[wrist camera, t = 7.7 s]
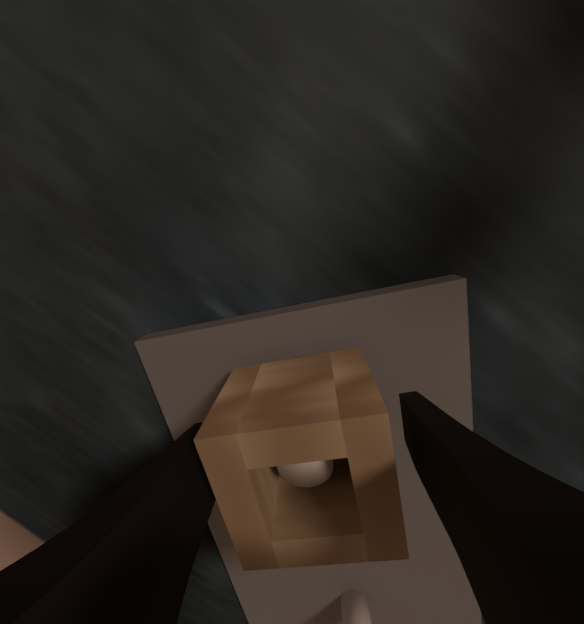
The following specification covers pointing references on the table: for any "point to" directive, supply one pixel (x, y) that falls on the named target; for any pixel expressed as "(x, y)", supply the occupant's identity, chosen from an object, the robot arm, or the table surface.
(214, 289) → the table surface
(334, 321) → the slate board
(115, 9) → the table surface
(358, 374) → the ash collar
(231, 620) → the table surface
